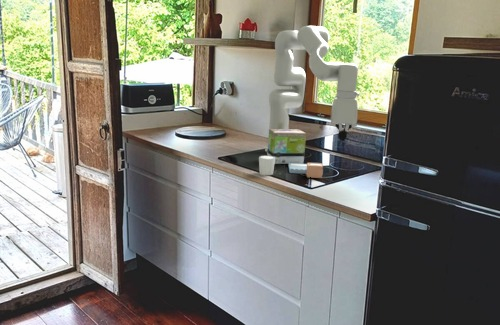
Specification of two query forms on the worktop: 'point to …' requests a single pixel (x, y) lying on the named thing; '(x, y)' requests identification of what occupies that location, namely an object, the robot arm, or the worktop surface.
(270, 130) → the tea box
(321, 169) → the cardboard box
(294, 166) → the blue microchip card
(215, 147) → the worktop surface
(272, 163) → the shot glass
